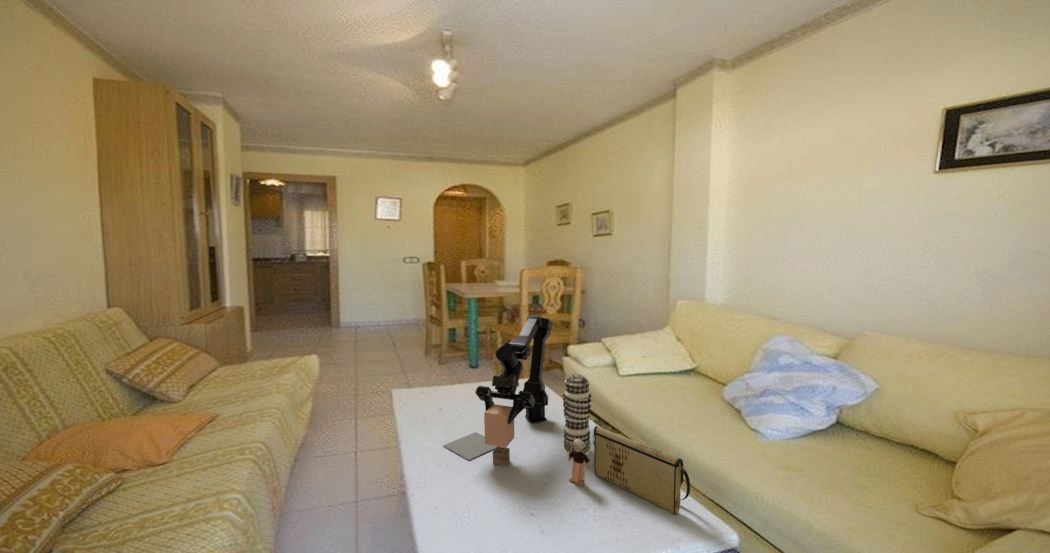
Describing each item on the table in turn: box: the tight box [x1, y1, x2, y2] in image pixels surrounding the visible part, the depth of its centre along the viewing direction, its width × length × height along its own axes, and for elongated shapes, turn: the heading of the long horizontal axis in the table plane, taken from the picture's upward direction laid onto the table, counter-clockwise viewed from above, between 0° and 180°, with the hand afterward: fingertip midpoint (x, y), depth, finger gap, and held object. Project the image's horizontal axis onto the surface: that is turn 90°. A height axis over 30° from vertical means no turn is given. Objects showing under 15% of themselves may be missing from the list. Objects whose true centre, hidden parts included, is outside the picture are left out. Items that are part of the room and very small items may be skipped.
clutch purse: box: [592, 425, 691, 516], centre depth 121 cm, size 30×7×15 cm, turn 42°
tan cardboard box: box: [483, 403, 515, 448], centre depth 137 cm, size 7×7×10 cm
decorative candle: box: [562, 374, 592, 457], centre depth 143 cm, size 9×9×25 cm
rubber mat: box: [442, 431, 498, 462], centre depth 148 cm, size 14×14×1 cm
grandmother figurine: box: [567, 439, 592, 486], centre depth 125 cm, size 8×4×13 cm, turn 62°
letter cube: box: [492, 446, 511, 467], centre depth 138 cm, size 4×4×4 cm
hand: (497, 422), depth 136 cm, fingers closed on tan cardboard box, 7 cm apart
